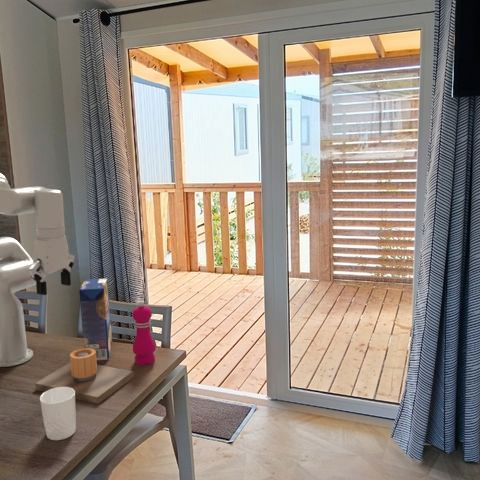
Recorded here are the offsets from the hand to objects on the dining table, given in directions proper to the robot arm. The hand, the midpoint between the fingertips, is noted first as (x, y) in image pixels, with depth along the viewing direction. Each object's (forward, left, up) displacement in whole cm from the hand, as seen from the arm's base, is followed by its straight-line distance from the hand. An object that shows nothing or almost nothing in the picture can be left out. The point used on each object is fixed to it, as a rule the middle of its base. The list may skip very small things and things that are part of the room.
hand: (54, 289), depth 144 cm
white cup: (+22, -25, -27) cm, 43 cm away
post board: (+11, -3, -27) cm, 29 cm away
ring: (+11, -3, -23) cm, 26 cm away
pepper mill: (+19, +16, -27) cm, 37 cm away
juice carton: (+1, +16, -27) cm, 32 cm away
